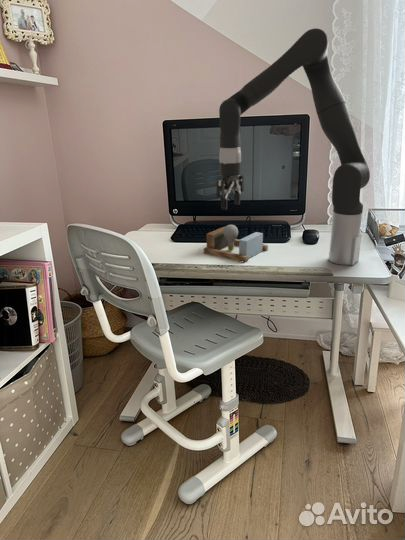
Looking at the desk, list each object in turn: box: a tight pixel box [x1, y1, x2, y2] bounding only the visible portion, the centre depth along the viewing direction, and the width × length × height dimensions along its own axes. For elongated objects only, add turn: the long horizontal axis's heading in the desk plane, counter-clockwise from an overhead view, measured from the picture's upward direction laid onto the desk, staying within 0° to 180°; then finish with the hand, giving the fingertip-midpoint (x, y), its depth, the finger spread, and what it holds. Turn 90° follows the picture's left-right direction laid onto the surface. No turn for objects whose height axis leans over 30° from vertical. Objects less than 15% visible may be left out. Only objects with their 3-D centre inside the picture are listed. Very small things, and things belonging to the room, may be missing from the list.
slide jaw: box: [238, 231, 264, 260], centre depth 155 cm, size 3×12×7 cm, turn 144°
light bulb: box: [223, 224, 239, 252], centre depth 159 cm, size 5×6×10 cm
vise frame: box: [203, 226, 269, 263], centre depth 158 cm, size 18×16×7 cm
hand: (230, 206), depth 154 cm, fingers open, 8 cm apart
